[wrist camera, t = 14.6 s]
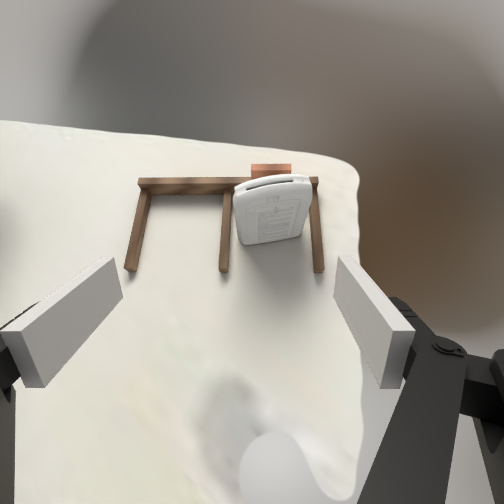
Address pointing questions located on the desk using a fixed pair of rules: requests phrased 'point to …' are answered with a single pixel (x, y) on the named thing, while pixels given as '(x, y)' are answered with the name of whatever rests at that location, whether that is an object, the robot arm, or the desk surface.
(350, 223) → the desk surface
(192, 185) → the wooden stand frame
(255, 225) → the photo printer
